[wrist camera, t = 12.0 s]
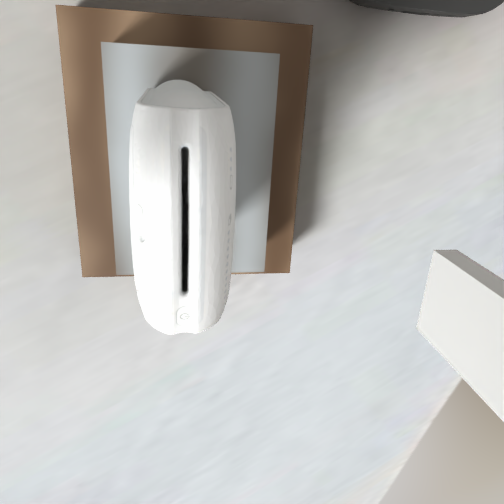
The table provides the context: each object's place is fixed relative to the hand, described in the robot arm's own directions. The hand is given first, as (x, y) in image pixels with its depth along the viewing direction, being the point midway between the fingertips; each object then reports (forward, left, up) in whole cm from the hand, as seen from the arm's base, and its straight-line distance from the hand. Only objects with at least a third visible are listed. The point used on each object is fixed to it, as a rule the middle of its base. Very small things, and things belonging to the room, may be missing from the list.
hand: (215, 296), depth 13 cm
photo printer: (-1, 0, -17) cm, 17 cm away
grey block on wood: (0, 0, -24) cm, 25 cm away
